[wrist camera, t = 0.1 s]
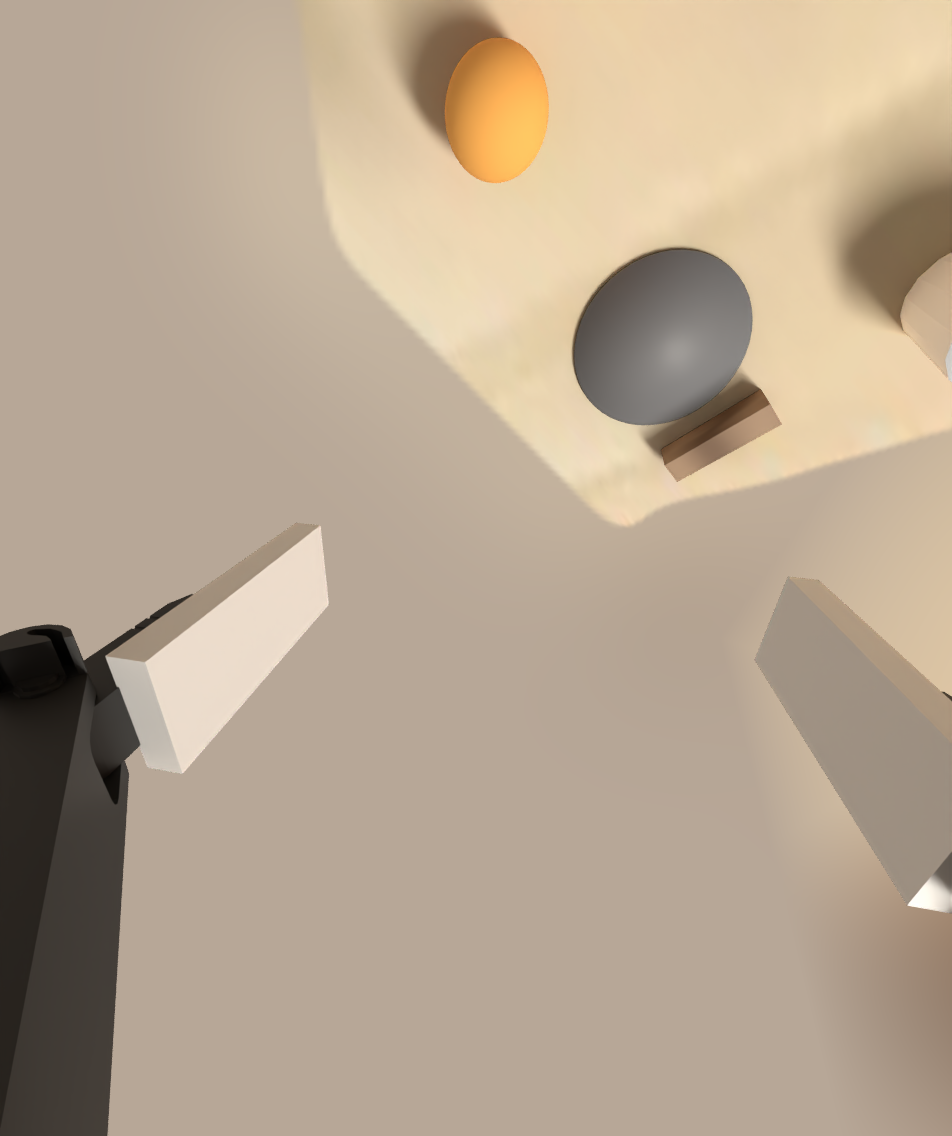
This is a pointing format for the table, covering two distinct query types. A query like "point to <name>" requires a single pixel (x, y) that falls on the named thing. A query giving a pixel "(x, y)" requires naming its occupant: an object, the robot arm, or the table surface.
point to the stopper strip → (720, 436)
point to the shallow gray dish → (663, 337)
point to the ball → (496, 110)
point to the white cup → (932, 314)
